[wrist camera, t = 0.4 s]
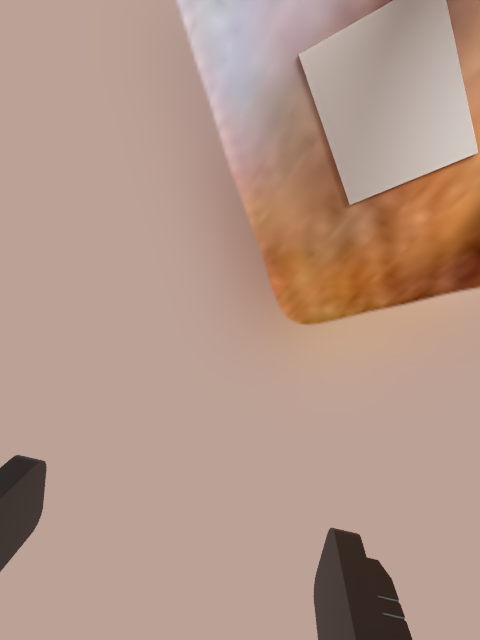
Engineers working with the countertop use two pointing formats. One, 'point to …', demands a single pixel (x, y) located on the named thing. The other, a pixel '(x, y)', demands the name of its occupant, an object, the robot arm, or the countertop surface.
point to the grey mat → (391, 96)
